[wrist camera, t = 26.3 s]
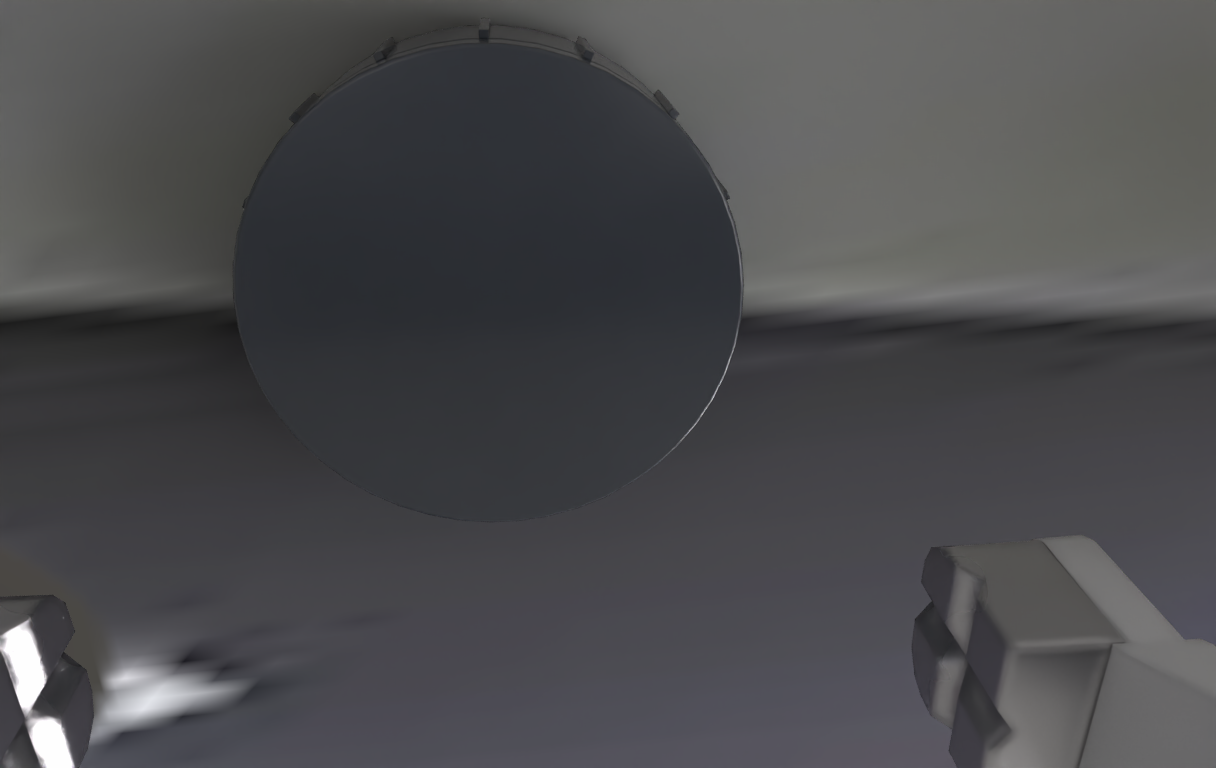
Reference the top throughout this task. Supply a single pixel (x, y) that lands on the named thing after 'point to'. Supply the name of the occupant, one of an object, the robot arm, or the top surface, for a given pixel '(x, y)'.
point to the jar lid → (488, 275)
